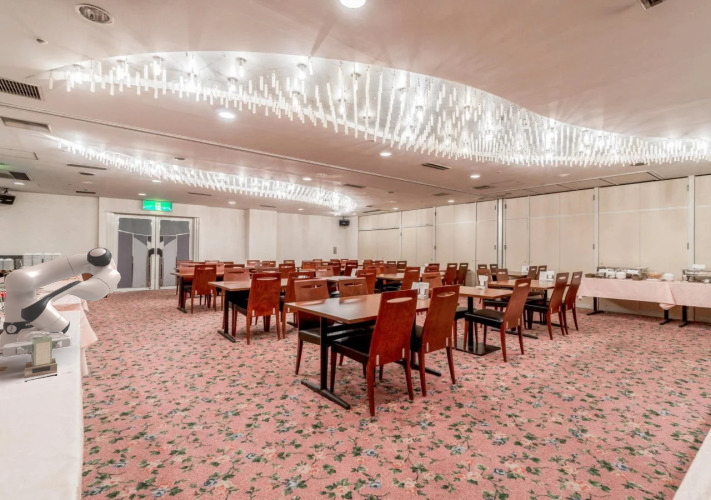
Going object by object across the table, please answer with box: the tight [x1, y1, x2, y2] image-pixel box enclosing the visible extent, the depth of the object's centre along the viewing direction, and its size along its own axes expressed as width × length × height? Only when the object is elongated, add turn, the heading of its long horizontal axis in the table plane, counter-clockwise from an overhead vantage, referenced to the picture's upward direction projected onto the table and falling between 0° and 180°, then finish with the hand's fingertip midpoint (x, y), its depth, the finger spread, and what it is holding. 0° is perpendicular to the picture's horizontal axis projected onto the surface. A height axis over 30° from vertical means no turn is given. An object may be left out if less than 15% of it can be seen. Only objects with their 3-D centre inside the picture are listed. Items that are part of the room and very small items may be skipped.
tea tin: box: [31, 336, 53, 367], centre depth 132 cm, size 5×5×13 cm
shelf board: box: [24, 357, 58, 382], centre depth 136 cm, size 24×9×4 cm, turn 43°
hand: (41, 349), depth 131 cm, fingers open, 8 cm apart
